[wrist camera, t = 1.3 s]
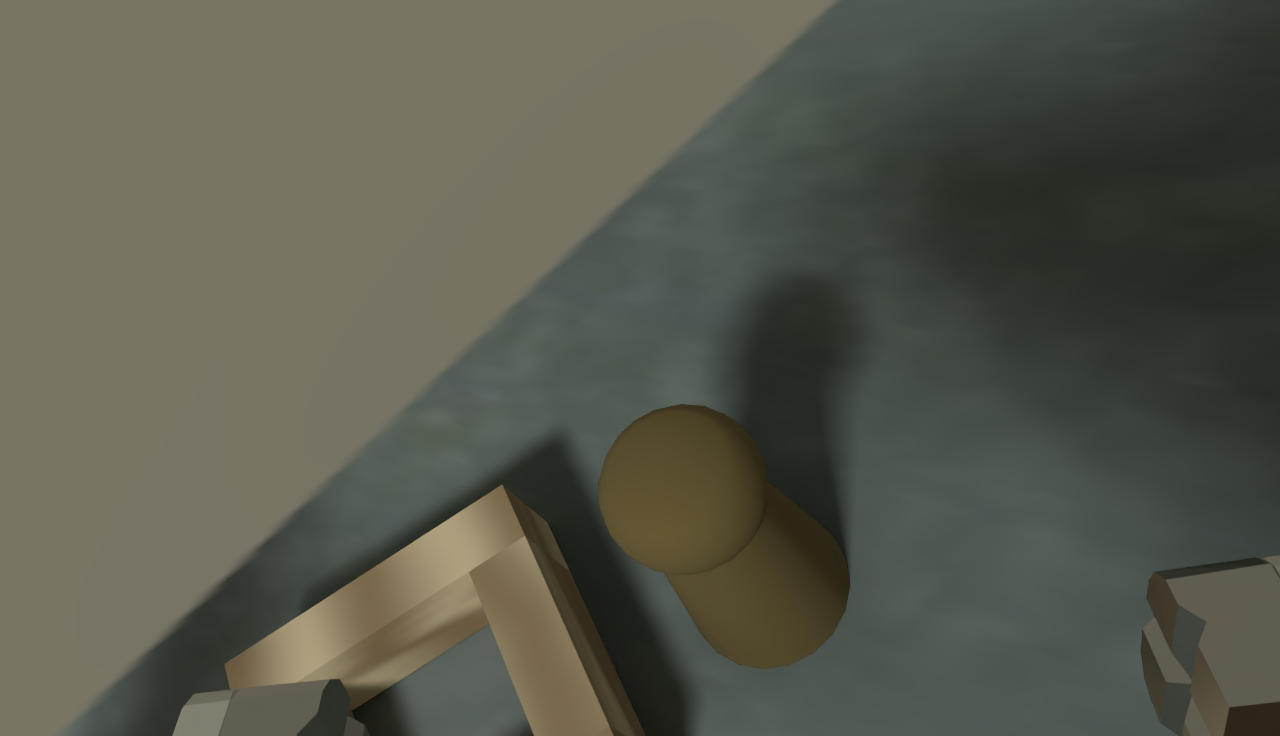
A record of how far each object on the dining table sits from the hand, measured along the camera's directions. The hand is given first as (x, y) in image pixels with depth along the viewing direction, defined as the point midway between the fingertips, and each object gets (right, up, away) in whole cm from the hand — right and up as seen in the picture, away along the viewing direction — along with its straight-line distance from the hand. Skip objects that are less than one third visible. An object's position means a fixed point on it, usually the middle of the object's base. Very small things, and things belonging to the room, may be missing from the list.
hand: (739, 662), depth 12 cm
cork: (+4, -5, +32) cm, 32 cm away
